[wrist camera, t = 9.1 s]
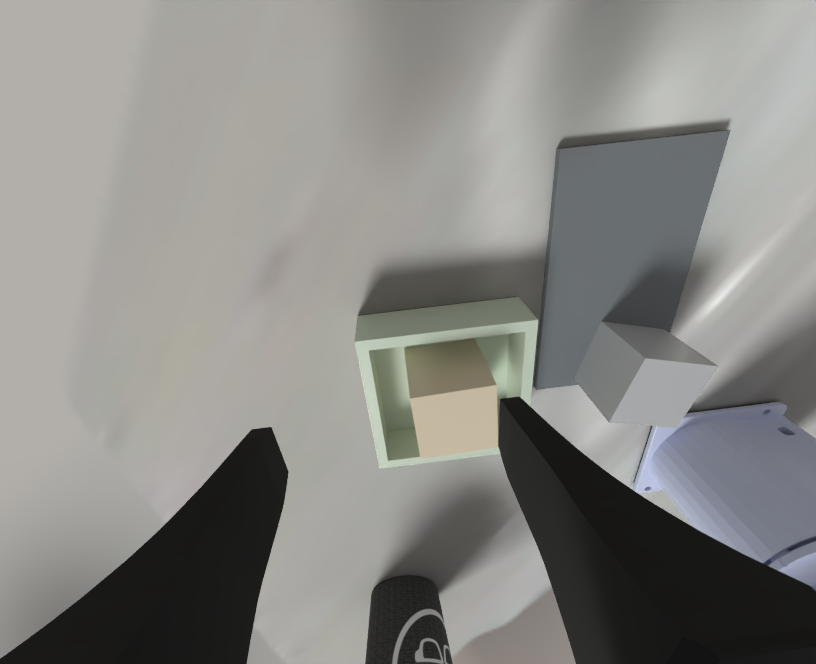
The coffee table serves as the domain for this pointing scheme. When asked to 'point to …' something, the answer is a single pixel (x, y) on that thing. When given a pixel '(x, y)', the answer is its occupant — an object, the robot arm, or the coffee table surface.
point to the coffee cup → (406, 623)
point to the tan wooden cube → (452, 398)
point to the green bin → (395, 331)
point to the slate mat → (620, 240)
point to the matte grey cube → (642, 375)
